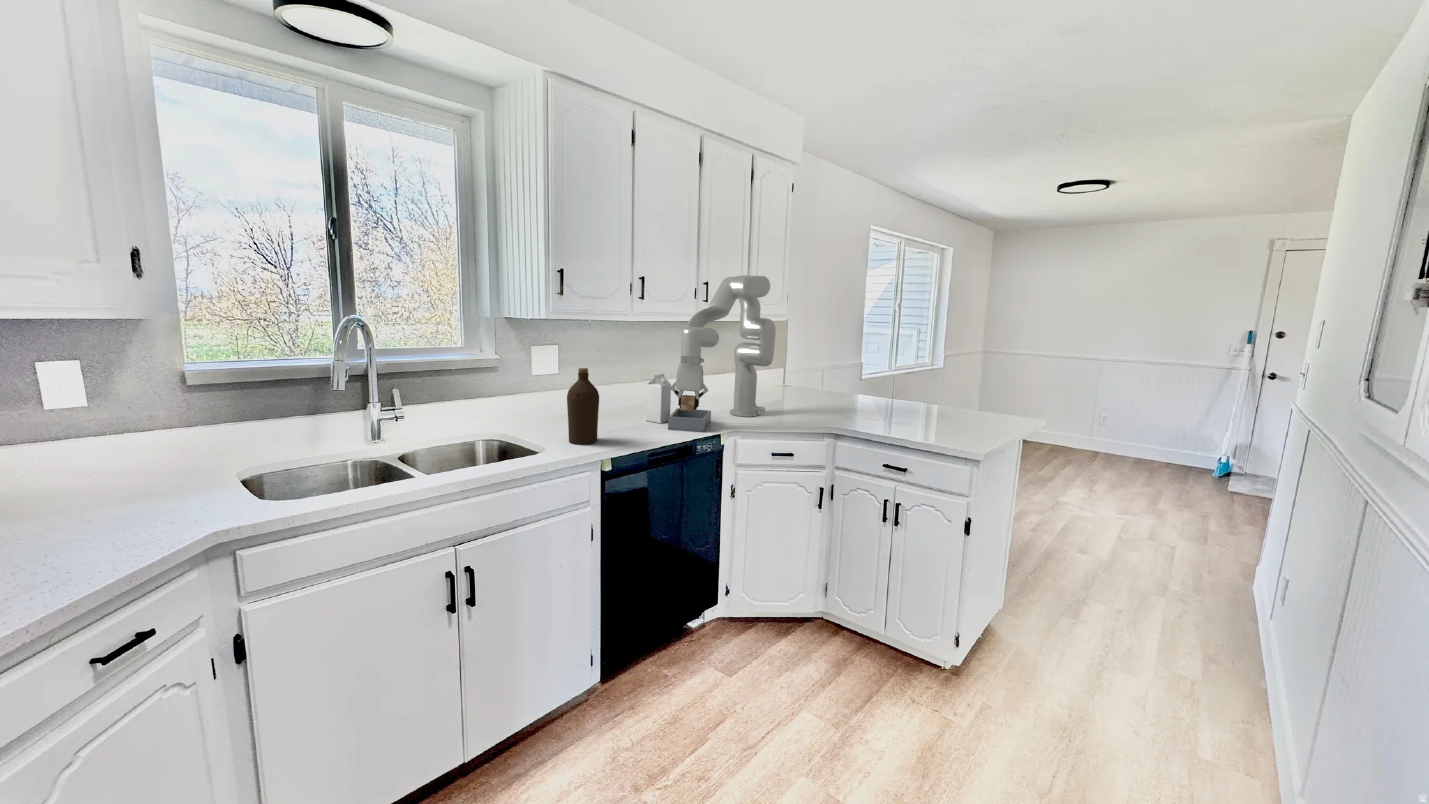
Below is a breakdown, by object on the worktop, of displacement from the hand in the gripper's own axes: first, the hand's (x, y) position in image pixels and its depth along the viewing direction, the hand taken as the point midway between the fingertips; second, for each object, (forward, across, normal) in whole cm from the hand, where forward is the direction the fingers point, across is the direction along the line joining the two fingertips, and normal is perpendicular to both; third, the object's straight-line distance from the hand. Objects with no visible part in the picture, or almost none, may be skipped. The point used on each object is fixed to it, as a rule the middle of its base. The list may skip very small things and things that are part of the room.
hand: (688, 407), depth 221 cm
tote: (+8, 0, -5) cm, 9 cm away
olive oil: (+9, +31, +30) cm, 44 cm away
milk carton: (+8, +14, -10) cm, 19 cm away
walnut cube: (+1, 0, 0) cm, 1 cm away
